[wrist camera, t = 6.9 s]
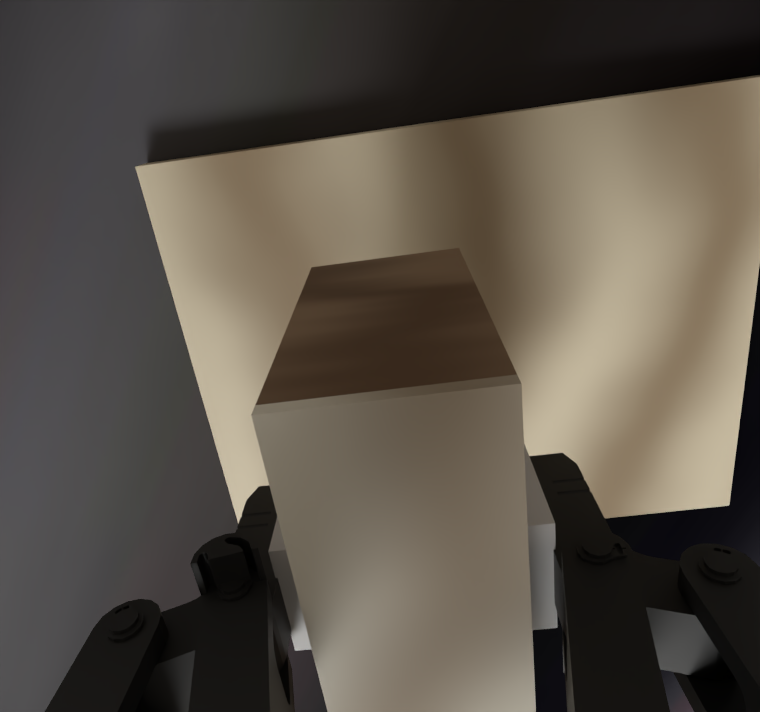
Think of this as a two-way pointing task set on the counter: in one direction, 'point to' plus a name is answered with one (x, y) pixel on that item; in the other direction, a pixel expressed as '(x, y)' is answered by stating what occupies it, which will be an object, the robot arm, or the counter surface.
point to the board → (506, 269)
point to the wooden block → (403, 488)
